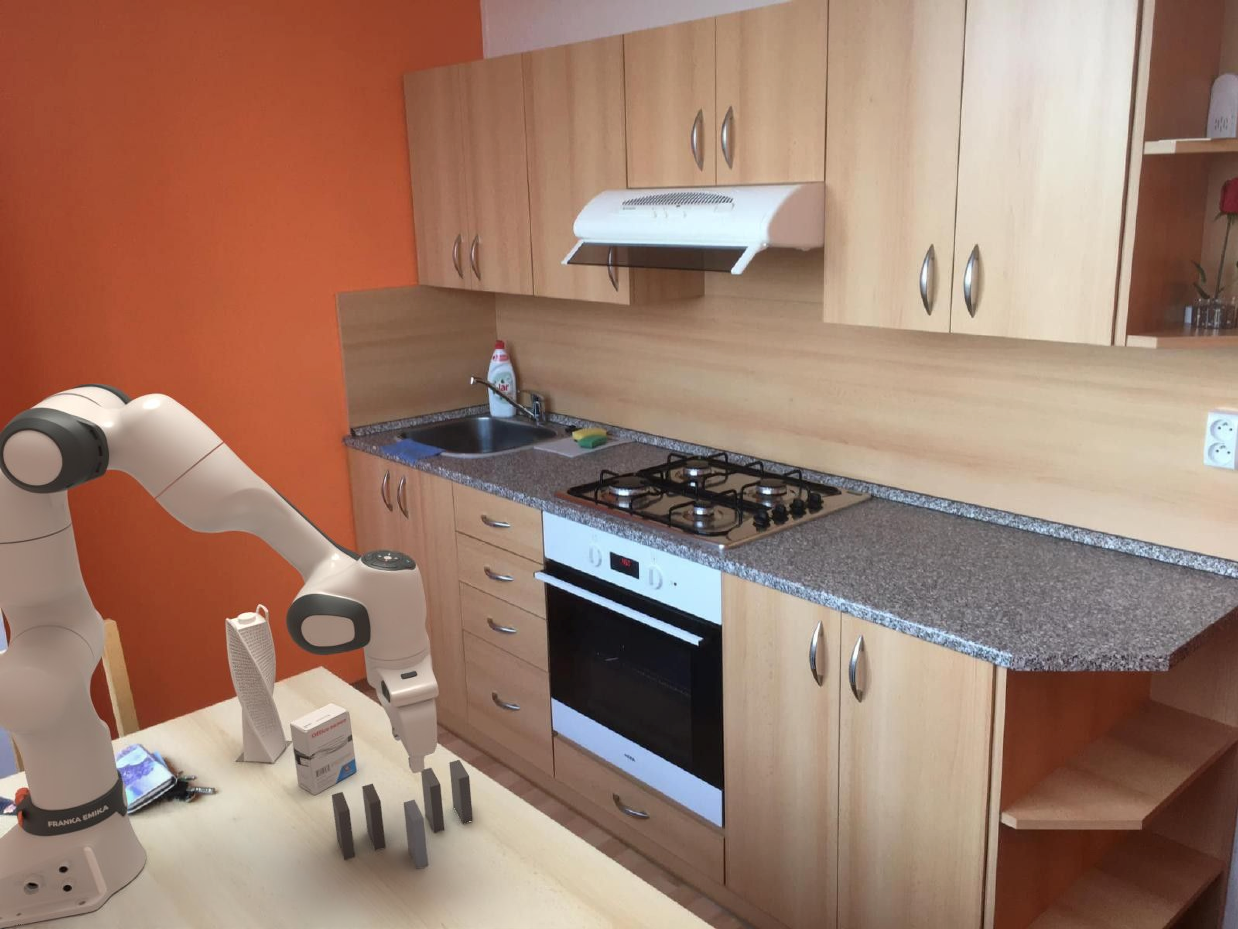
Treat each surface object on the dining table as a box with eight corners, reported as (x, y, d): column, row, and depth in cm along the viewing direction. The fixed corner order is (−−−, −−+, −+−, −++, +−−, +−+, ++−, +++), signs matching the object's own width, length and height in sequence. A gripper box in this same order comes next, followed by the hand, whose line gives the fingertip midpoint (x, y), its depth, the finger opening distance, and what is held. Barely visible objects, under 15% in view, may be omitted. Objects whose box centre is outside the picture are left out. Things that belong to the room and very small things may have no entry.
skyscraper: (300, 743, 182) (280, 597, 175) (279, 769, 175) (257, 617, 167) (255, 741, 184) (234, 595, 176) (232, 766, 176) (209, 615, 168)
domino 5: (462, 824, 158) (458, 778, 156) (453, 807, 163) (449, 762, 160) (472, 821, 159) (469, 776, 157) (463, 804, 163) (459, 759, 161)
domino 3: (417, 869, 148) (412, 821, 146) (408, 849, 153) (403, 802, 151) (428, 865, 149) (423, 818, 147) (418, 846, 153) (414, 799, 151)
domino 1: (344, 860, 151) (338, 813, 149) (337, 841, 155) (331, 794, 153) (355, 857, 152) (349, 809, 149) (348, 838, 156) (342, 791, 154)
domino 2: (374, 851, 153) (369, 804, 150) (367, 832, 157) (362, 786, 155) (385, 847, 153) (380, 801, 151) (377, 829, 158) (372, 783, 155)
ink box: (340, 762, 176) (332, 700, 172) (358, 772, 173) (350, 709, 169) (296, 785, 170) (288, 721, 166) (314, 796, 166) (306, 731, 163)
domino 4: (434, 833, 156) (429, 787, 154) (425, 815, 161) (420, 770, 158) (444, 830, 157) (440, 784, 155) (435, 812, 161) (431, 767, 159)
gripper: (359, 640, 150) (369, 725, 154) (394, 702, 132) (404, 796, 136) (402, 631, 153) (411, 714, 156) (442, 690, 135) (450, 783, 139)
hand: (408, 753), depth 146 cm, fingers open, 8 cm apart
